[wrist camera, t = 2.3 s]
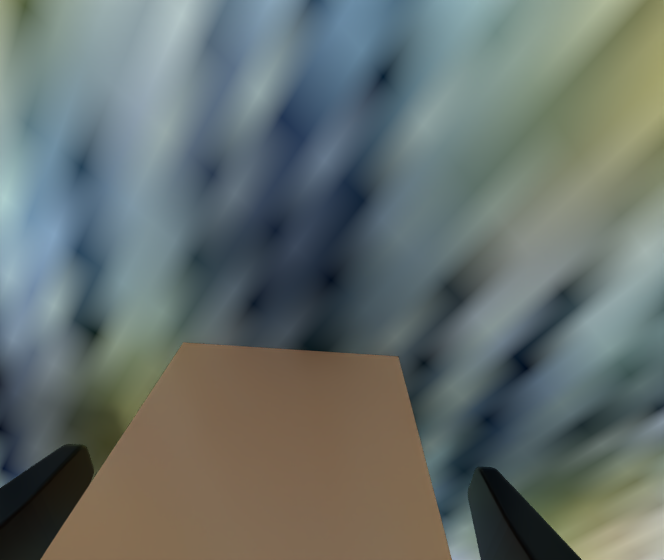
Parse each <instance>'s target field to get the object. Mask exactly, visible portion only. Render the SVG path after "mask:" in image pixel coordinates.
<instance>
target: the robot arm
mask: <svg viewBox="0 0 664 560" xmlns="http://www.w3.org/2000/svg"><path fill="white" fill-rule="evenodd" d="M93 473H94V468H93V464H92V461H91V458H90V455H89V452H88V449H87V447H86V446H84V445H77V444H67V445H64V446H62V447H60V448H59V449H57V450H56V451H54V452H53V453H51V454H50V455H48V456H47V457H45V458H44V459H42V460H41V461H39V462H38V463H36V464H35V465H33V466H32V467H31V468H29V469H28V470H26V471H25V472H23V473H22V474H20V475H19V476H17V477H16V478H14V479H13V480H11V481H10V482H8V483H7V484H5V485H4V486H2V487H1V488H0V560H40V559H41V558H42V556H43V555H44V553H45V552H46V550H47V549H48V547H49V546H50V544H51V543H52V541H53V540H54V538H55V537H56V535H57V533H58V532H59V530H60V529H61V527H62V526H63V524H64V523H65V521H66V520H67V518H68V517H69V515H70V514H71V512H72V511H73V509H74V508H75V506H76V505H77V503H78V502H79V500H80V499H81V497H82V495H83V494H84V492H85V491H86V489H87V488H88V486H89V485H90V483H91V480H92V477H93ZM468 500H469V505H470V510H471V515H472V519H473V524H474V529H475V534H476V538H477V543H478V548H479V553H480V557H481V560H582V559H581V558H580V557H579V556H578V555H577V554H576V553H575V552H574V551H573V550H572V549H571V548H570V547H569V546H568V545H567V543H566V542H565V541H564V540H563V539H562V538H561V537H560V536H559V535H558V534H557V533H556V532H555V531H554V530H553V529H552V528H551V526H550V525H549V524H548V523H547V522H546V521H545V520H544V519H543V518H542V517H541V516H540V515H539V514H538V513H537V512H536V511H535V509H534V508H533V507H532V506H531V505H530V504H529V503H528V502H527V501H526V500H525V499H524V498H523V497H522V496H521V495H520V494H519V492H518V491H517V490H516V489H515V488H514V487H513V486H512V485H511V484H510V483H509V482H508V481H507V480H506V479H505V478H504V477H503V475H502V474H501V473H500V472H499V471H498V470H496V469H495V468H492V467H477V468H476V469H475V472H474V474H473V477H472V480H471V483H470V485H469V488H468Z"/></svg>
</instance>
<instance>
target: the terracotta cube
mask: <svg viewBox="0 0 664 560" xmlns="http://www.w3.org/2000/svg"><path fill="white" fill-rule="evenodd" d="M40 560H452V558H451V555H450V551H449V547H448V543H447V539H446V536H445V532H444V528H443V524H442V520H441V517H440V513H439V509H438V505H437V501H436V498H435V494H434V490H433V486H432V482H431V479H430V475H429V471H428V467H427V464H426V460H425V456H424V452H423V448H422V445H421V441H420V437H419V433H418V429H417V426H416V422H415V418H414V414H413V410H412V407H411V403H410V399H409V395H408V391H407V388H406V384H405V380H404V376H403V372H402V369H401V365H400V361H399V357H398V356H385V355H369V354H354V353H338V352H323V351H308V350H292V349H277V348H262V347H246V346H231V345H215V344H200V343H185V342H183V344H182V345H181V347H180V348H179V350H178V351H177V353H176V354H175V356H174V357H173V359H172V360H171V362H170V363H169V365H168V366H167V368H166V369H165V371H164V372H163V374H162V375H161V377H160V378H159V380H158V382H157V383H156V385H155V386H154V388H153V389H152V391H151V392H150V394H149V395H148V397H147V398H146V400H145V401H144V403H143V404H142V406H141V407H140V409H139V410H138V412H137V413H136V415H135V416H134V418H133V420H132V421H131V423H130V424H129V426H128V427H127V429H126V430H125V432H124V433H123V435H122V436H121V438H120V439H119V441H118V442H117V444H116V445H115V447H114V448H113V450H112V451H111V453H110V454H109V456H108V458H107V459H106V461H105V462H104V464H103V465H102V467H101V468H100V470H99V471H98V473H97V474H96V476H95V477H94V479H93V480H92V482H91V483H90V485H89V486H88V488H87V489H86V491H85V492H84V494H83V495H82V497H81V499H80V500H79V502H78V503H77V505H76V506H75V508H74V509H73V511H72V512H71V514H70V515H69V517H68V518H67V520H66V521H65V523H64V524H63V526H62V527H61V529H60V530H59V532H58V533H57V535H56V537H55V538H54V540H53V541H52V543H51V544H50V546H49V547H48V549H47V550H46V552H45V553H44V555H43V556H42V558H41V559H40Z"/></svg>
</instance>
